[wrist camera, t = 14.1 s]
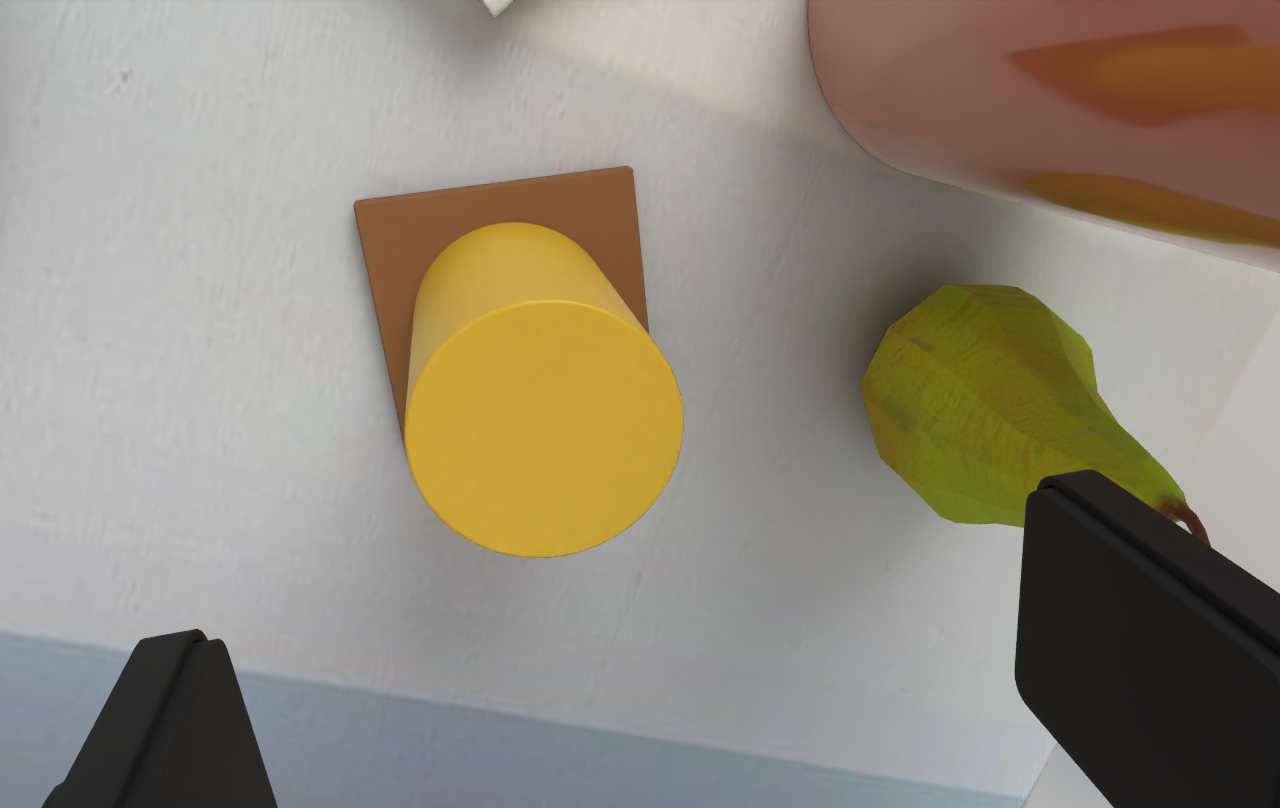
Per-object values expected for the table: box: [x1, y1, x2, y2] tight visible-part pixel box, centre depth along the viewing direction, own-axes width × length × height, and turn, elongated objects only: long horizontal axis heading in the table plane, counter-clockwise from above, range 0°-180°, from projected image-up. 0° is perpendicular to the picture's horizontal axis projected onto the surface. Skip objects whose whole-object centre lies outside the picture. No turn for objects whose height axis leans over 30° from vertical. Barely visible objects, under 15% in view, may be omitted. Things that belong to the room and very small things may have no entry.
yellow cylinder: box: [404, 222, 684, 558], centre depth 21 cm, size 5×5×8 cm
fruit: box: [861, 285, 1211, 547], centre depth 23 cm, size 6×6×12 cm
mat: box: [354, 166, 649, 458], centre depth 25 cm, size 7×7×1 cm
